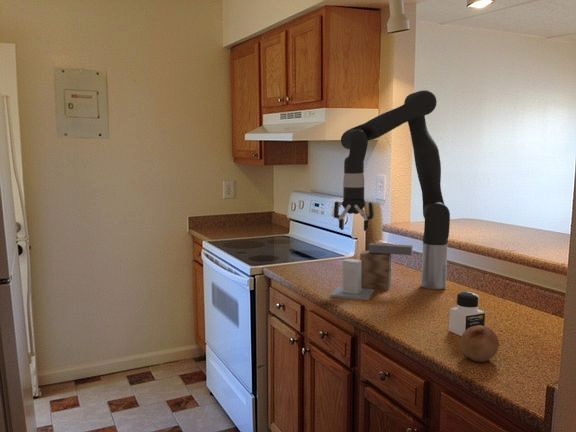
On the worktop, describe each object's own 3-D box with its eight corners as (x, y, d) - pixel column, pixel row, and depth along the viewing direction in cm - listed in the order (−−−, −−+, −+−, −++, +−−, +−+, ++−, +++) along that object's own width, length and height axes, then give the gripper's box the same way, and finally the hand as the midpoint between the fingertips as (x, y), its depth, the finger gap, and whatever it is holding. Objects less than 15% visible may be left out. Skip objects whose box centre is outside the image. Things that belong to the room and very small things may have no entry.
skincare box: (361, 291, 198) (362, 260, 196) (357, 294, 194) (357, 262, 192) (346, 289, 200) (346, 258, 199) (341, 292, 197) (342, 260, 195)
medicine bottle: (465, 338, 152) (467, 298, 150) (448, 330, 158) (450, 291, 157) (484, 335, 155) (486, 295, 153) (467, 327, 161) (469, 289, 160)
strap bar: (412, 253, 202) (412, 245, 202) (411, 255, 199) (411, 247, 198) (370, 250, 207) (370, 243, 207) (368, 252, 204) (368, 244, 203)
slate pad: (373, 291, 201) (374, 289, 201) (368, 300, 189) (368, 298, 189) (337, 288, 205) (337, 286, 205) (330, 296, 194) (330, 294, 194)
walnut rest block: (390, 286, 208) (391, 252, 206) (388, 290, 202) (389, 255, 200) (362, 284, 211) (363, 250, 209) (359, 288, 205) (360, 253, 204)
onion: (478, 376, 135) (476, 348, 130) (453, 353, 142) (451, 326, 137) (507, 358, 137) (507, 330, 132) (481, 337, 145) (480, 310, 140)
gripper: (375, 185, 193) (374, 229, 195) (336, 184, 197) (336, 227, 200) (371, 186, 186) (371, 232, 188) (332, 186, 190) (332, 230, 192)
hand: (353, 230), depth 194 cm, fingers open, 8 cm apart
